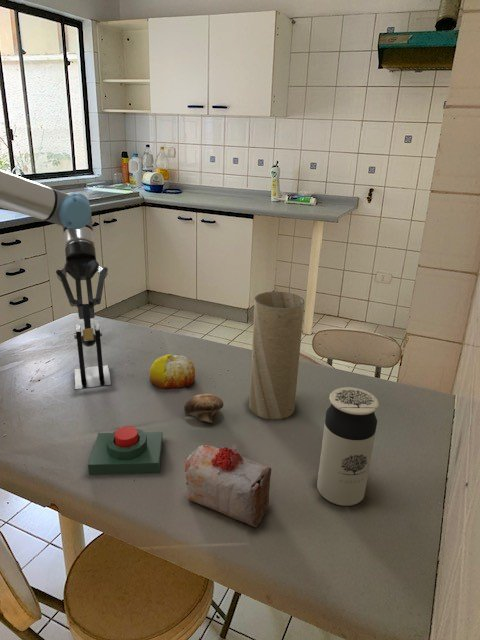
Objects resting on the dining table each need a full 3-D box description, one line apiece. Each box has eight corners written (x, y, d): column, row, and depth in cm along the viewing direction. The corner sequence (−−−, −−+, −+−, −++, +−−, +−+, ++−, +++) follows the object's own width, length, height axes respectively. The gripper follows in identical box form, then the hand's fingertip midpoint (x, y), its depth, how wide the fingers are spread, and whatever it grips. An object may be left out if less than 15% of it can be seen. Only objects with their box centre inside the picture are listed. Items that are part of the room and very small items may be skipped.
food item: (177, 502, 75) (176, 452, 71) (203, 472, 82) (203, 426, 78) (253, 535, 69) (257, 483, 66) (274, 500, 76) (278, 451, 72)
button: (113, 448, 81) (112, 439, 81) (117, 434, 85) (116, 426, 84) (136, 447, 82) (136, 439, 81) (139, 433, 85) (138, 425, 85)
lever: (82, 348, 115) (80, 333, 116) (97, 346, 116) (95, 332, 117) (80, 342, 103) (79, 326, 103) (97, 341, 104) (95, 325, 104)
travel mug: (315, 471, 83) (326, 384, 76) (360, 476, 82) (375, 388, 75) (318, 504, 76) (330, 411, 69) (367, 509, 75) (384, 415, 68)
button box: (89, 474, 80) (86, 456, 79) (99, 442, 88) (97, 424, 87) (159, 472, 81) (158, 454, 80) (162, 441, 89) (162, 423, 88)
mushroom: (217, 421, 90) (211, 390, 92) (181, 429, 93) (175, 398, 94) (231, 419, 98) (225, 390, 99) (197, 426, 100) (192, 398, 101)
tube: (274, 389, 109) (282, 288, 99) (303, 410, 101) (314, 302, 92) (240, 402, 103) (244, 296, 94) (268, 424, 96) (276, 312, 86)
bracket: (74, 373, 113) (68, 320, 107) (108, 369, 115) (104, 317, 110) (75, 394, 104) (68, 338, 99) (112, 389, 106) (107, 334, 101)
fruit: (179, 398, 103) (170, 365, 101) (145, 396, 109) (135, 365, 107) (207, 376, 112) (198, 345, 110) (174, 376, 118) (165, 347, 116)
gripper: (105, 253, 128) (115, 332, 119) (55, 256, 123) (61, 338, 115) (105, 238, 121) (115, 321, 113) (52, 240, 117) (58, 326, 109)
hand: (88, 329), depth 114 cm, fingers closed
